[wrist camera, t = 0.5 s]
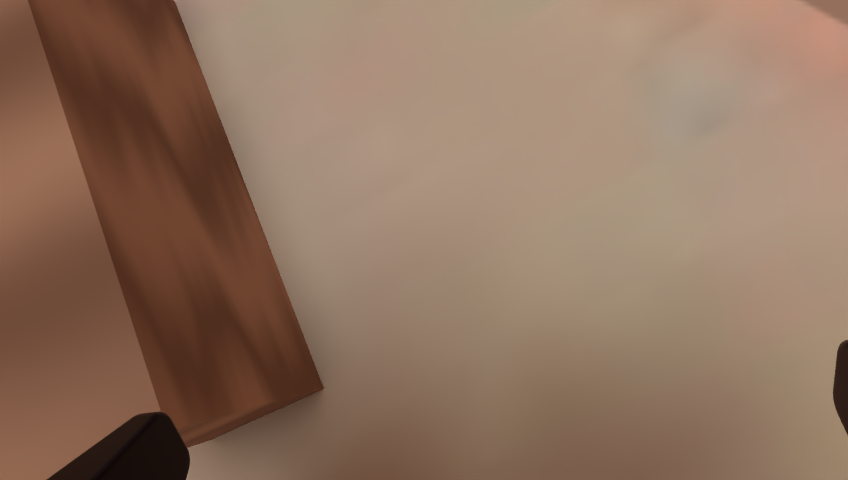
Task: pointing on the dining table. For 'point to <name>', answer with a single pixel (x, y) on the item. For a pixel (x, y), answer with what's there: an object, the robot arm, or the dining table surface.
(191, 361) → the brown patterned block
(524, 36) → the dining table surface
